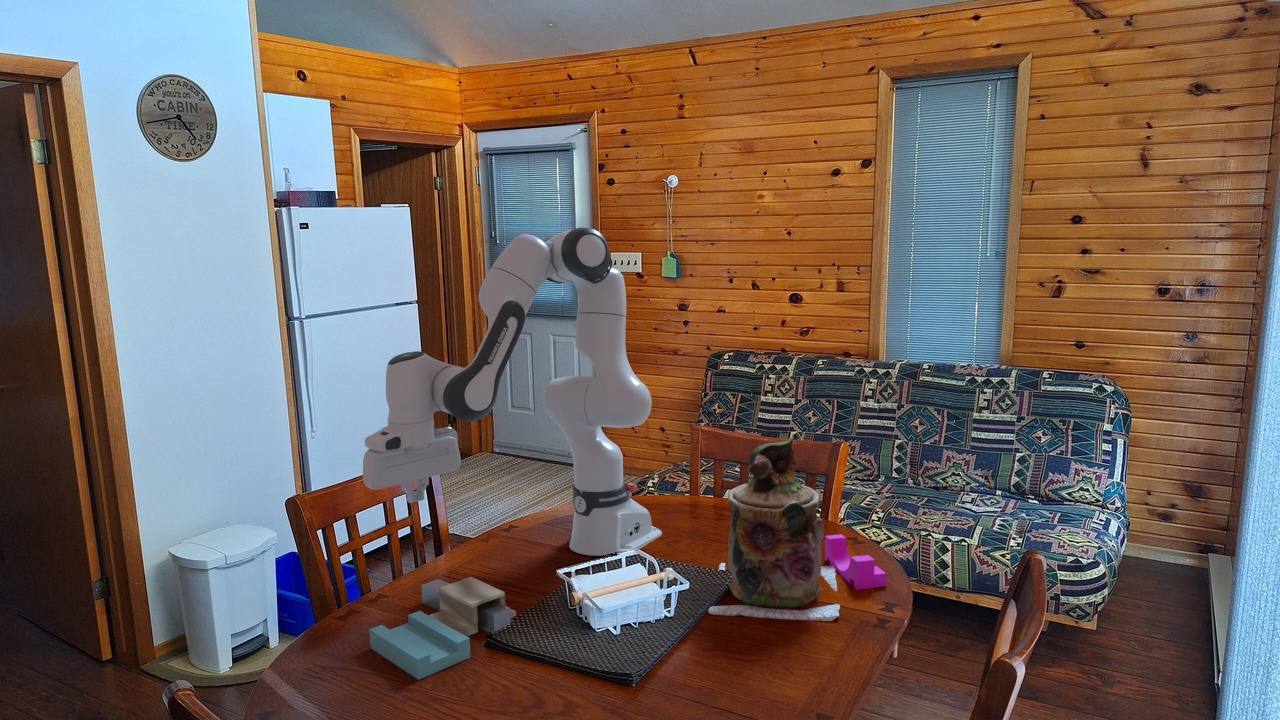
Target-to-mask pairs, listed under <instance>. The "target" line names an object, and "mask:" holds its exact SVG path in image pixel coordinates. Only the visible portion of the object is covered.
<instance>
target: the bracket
mask: <svg viewBox="0 0 1280 720" xmlns="http://www.w3.org/2000/svg"><path fill="white" fill-rule="evenodd" d="M439 600H440V611H439V610H438V611H436V612H433V613H432V614H428V616H430V617H432V618H434V619H436V620H438V621H439V622H441V623H443V624H445V625H447V626H449V627H450V628H452V629H454V630H456V631H458V632H460V633H461V634H463V635H465V636H467V637H469V636H473V635H474V634H476V633H478V632H479V628H478V617H477V606H478V605H480V604H483V603H486V602H488V601H491V600H492V601H494V602H497V603H499V604H502V605H504V606H506V594H505V591H504V590H501V589H499V588H496V587H494V586H492V585H491V584H488V583H486V582H483V581H481V580H479V579H477V578H474V577H472V576H469V577H466V578H463V579H461V580H458V581H455V582H452V583H449V585H446V586H443V587H440V588H439ZM514 616H515V617H516V616H517V611H516V610H514V609H511V619H513V618H515V617H514Z"/></svg>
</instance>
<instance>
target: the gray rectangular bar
mask: <svg viewBox="0 0 1280 720" xmlns="http://www.w3.org/2000/svg"><path fill="white" fill-rule="evenodd" d="M449 584H450V583H449V582H446V581H444V580H441V579H439V578H437V579H434V580H432V581H429V582H427V583H423V584H421V585H420V587H421V600H422V601H421V603H422V604H423V605H426V606H427V607H430V608H432V609H435V610H437V611H438V612H439V611H440V600H439V588H440V587H443V586H446V585H449ZM477 617H478V629H481V630H482V631H485V632H486V633H489V632H495V631H497V630H499V629H501V628H503V627H505V626H507V625H508V624H510V623H511V624H512V618H511V607H509V606H507V605H505V606H504V605H502V604H499V603H497V602H494V601H492V600H491V601H488V602H486V603H483V604H480V605H478V606H477Z"/></svg>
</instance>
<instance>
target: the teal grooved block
mask: <svg viewBox="0 0 1280 720" xmlns="http://www.w3.org/2000/svg"><path fill="white" fill-rule="evenodd" d="M407 616H408V617H407V619H408V620H407V621H408V622H407V623H405V624H402V625H399V626H397V627H394V628H392V629H390V628H388V627H386V626H385V625H383V624H380V625H377V626H374V627H371V628H369V629H368V633H369V645H370V647H369V648H370V649H371V650H373V651H374V652H376V653H377V654H379V655H380V656H382V657H383V658H384V659H386V660H388V661H389V662H391V663H392V664H394V665H395V666H397V667H399V669H401V670H403V671H404V672H406V673H407V674H409V675H411V676H412V677H414V678H415V679H417V680H418V681H419V680H422V679H424V678H426V677H428V676H431V675H433V674H435V673H438V672H440V671H442V670H444V669H447V668H449V667H451V666H454V665H456V664H459V663H461V662H463V661H465V660H467V659H470V658H471V639H470V637H469V636H465V635H463V634H461V633H460V632H458V631H456V630H454V629H452V628H450V627H449V626H447V625H445V624H443V623H441V622H439V621H438V620H436V619H434V618H432V617H430V616H429V614H427V613H424V612H423V611H421V610H418V611H415V612H413V613H410V614H408V615H407Z"/></svg>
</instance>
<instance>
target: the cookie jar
mask: <svg viewBox="0 0 1280 720" xmlns="http://www.w3.org/2000/svg"><path fill="white" fill-rule="evenodd" d="M794 439H795V437H794V436H790V437H789V438H788V440H787V441H781V442H769V443H764V444H761V445H759V446H757V447H756V448H755V449H753V450H752V452H751V454H750V456H749V468H748V469H749V473H750V474H752V478H751V479H750V480H749V481H748V482H747V483H742V484H739V485H738V486H736V487H734V488H732V489H730V490H729V491H728V492H727V504H728V505H729V507H730V508H731V510H730V520H731V521H730V522H731V523H730V529H729V534H728V538H727V543H728V544H727V545H728V558H727V561H728V562H727V563H728V565H727V566H728V568H729V571H730V573H731V575H732V576H731V577H732V578H731V580H730V582H729V589H730V591H731V593H732V595H733V596H734V597H735V598H737V599H738V600H740V601H741V602H743V604H734V605H733V604H732V605H711V606H712V607H711V606H710V607H709V608H708V610H707V611H708V613H709V614H710V615H717V616H718V615H719V616H729V617H730V616H733V617H734V616H744V617H745V616H746V617H751V618H759V619H777V620H794V621H795V620H797V621H798V620H800V621H802V620H803V621H821V622H833V621H834V620H835V619H837V618H838V617H840V609H841V605H840V604H838V603H835V604H828V605H824V606H818V607H811V608H808V609H801V610H797V609H795V610H794V609H789V608H798V607H799V608H800V607H803V606H805V605H808V604H810V603H812V602H813V601H814V600H816V599H817V597H818V596H820V594H821V592H822V586H821V585H820V582H819V578H820V577H821V576H822V577H823V578H824V580H825V581H826V582H827V584H828V585H829V586H830V588H832V589H833V591H835V592H837V591H838V585H837V584H838V582H837V580H836V578H837V577H836V574H837V571H836V568H835V567H834V566H831V565H823V566H822V548H821V542H822V541H823V539H824V538H825V537H824V534H825V533H824V521H823V519H822V518H821V517H818V515H817V512H816V510H817V509H818V508H819V506H820V504H821V496H820V493H818V492H817V491H816V490H815V489H813V488H812V487H809V486H808V485H803V484H800V482H798V480H797V477H796V475H795V474H796V469H797V461H798V459H797V458H796V456H795V450H794V448H793V442H794ZM719 570H725V571H726V563H725V562H721V563H720V564H719V566H718V571H719ZM744 604H746V605H744ZM765 607H766V608H765ZM783 608H784V609H783ZM785 608H786V609H785ZM787 608H788V609H787Z"/></svg>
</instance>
